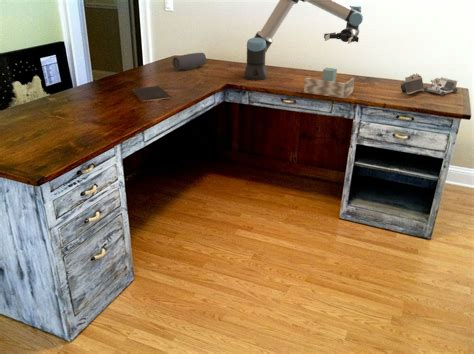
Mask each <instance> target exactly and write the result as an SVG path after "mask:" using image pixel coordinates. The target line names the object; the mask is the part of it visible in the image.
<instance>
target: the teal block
mask: <svg viewBox="0 0 474 354" xmlns="http://www.w3.org/2000/svg"><path fill="white" fill-rule="evenodd" d="M337 72H338V69H337V68H332V67H325V68H324V69H322V79H321V80H326V81H333V82H337Z"/></svg>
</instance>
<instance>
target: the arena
mask: <svg viewBox="0 0 474 354" xmlns="http://www.w3.org/2000/svg"><path fill="white" fill-rule="evenodd" d="M355 78H356V77H354V76H353V77H351V78H350V79H349V80H348V81H346V82H339V81H335V82H333V81H326V80H322V79H316V78H311V77H310V78H309V77H305V78H304V87H303V89H304V90H303V93H304V94H305V93H306V94H313V95H319V96H325V97H326V96H327V97H332V98H333V97H334V98H339V99H347V98H348V97H349V96H350V95H351V94H352V93H354V86H355Z"/></svg>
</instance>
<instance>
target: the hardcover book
mask: <svg viewBox="0 0 474 354" xmlns="http://www.w3.org/2000/svg"><path fill="white" fill-rule="evenodd" d="M132 91H133V92H134V93H135V94H136V95H137V96H138V97H139V98H140V99H141V100H142V101H146V100H157V99H165V98H172V96H171V95H170V94H169V93H168V92H166V91H165V90H164V89H163V88H162V87H160V86H159V85H156V86H147V87H138V88H132V89H131V92H132Z"/></svg>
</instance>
